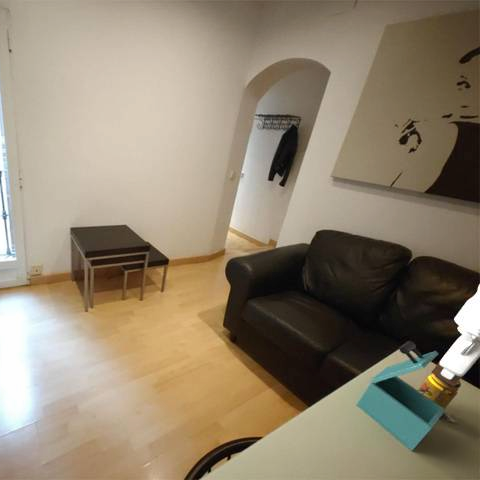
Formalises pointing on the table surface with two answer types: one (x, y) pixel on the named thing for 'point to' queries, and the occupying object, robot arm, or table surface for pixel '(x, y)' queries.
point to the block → (453, 381)
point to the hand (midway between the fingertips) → (449, 372)
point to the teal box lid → (406, 363)
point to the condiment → (439, 393)
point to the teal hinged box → (400, 410)
